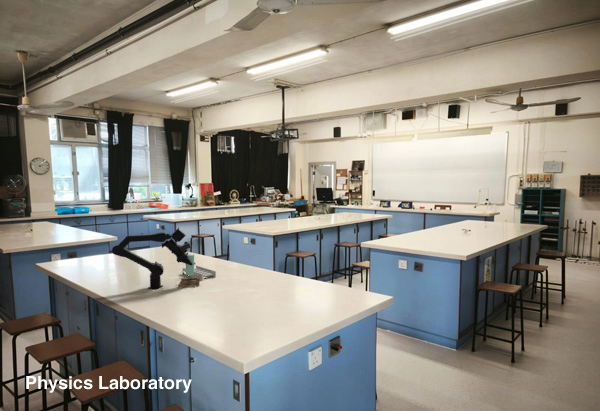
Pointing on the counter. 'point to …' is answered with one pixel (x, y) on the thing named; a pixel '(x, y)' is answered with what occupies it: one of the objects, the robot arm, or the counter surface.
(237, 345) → the counter surface
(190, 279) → the track board
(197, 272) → the test tube rack
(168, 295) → the counter surface
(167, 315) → the counter surface
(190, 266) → the mint green tall box
